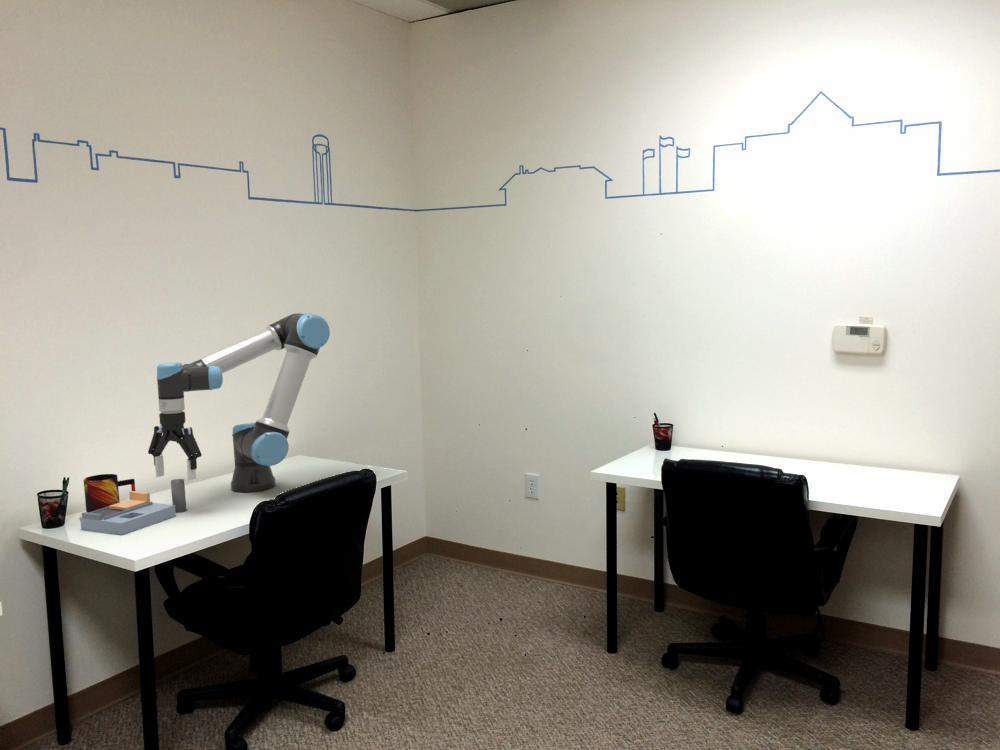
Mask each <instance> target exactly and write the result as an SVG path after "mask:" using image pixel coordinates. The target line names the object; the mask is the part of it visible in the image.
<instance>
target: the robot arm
mask: <svg viewBox="0 0 1000 750" xmlns="http://www.w3.org/2000/svg"><path fill="white" fill-rule="evenodd" d="M330 330H331V329H330V326H329V324H328V322H327V321H326V319H325V318H324V317H322V316H321V315H318V314H316V313H315V314H314V313H312V312H311V313H310V312H307V313H300V312H299V313H292V314H290V315H287V316H285V317H283V318H280V319H279V320H276V321H275V322H273V323H271V324H269V325H266V327H265V329H264V330H262V331H260V332H258V333H255V334H253V335H251V336H249V337H247V338H244V339H242V340H240V341H237V342H235V343H233V344H231V345H228V346H227V347H224V348H222V349H220V350H218V351H215V352H213V353H211V354H209V355H206V356H204V357H202V358H199V359H197V360H194V361H193V362H190V363H184V364H183V363H182V362H175V361H174V362H173V361H172V362H162V363H159V364H157V366H156V381H157V393H158V394H157V395H158V397H157V399H158V411H159V412H160V413H159V415H158V416H159V417H158V418H159V425H155V426H154V427H153V435H152V438H151V441H150V445H149V448H148V450H147V454H149V455H152V457H153V465H154V468H155V478H159V477H163V476H165V465H164V464H165V463H164V455H163V452H164V450H165V448H166V446H167V445H168V444H169V442H171V441H172V442H175V443H177V444H178V445H179V446H180V448H181V449H182V451H183V452H184V453H185V455H186V457H187V459H186V469H187V471H186V473H187V481H189V482H190V481H193V480H197V467H198V465H197V464H198V463H197V459H198V458H200V457H201V458H202V455H203V454H202V452H201V450H200V448H199V445H198V442H197V440H196V438H195V436H194V431H193V427H185V425H184V424H185V423H186V412H185V410H186V407H185V405H186V404H185V393H186V392H198V391H200V392H201V391H212V390H219V389H220V388H221V387H222V386H223V382H224V381H223V380H224V379H223V374H225V373H226V372H228V371H230V370H234V369H235V368H237V367H239V366H241V365H245V364H246V363H248V362H250V361H252V360H255V359H256V358H258V357H261V356H264V355H266V354H268V353H270V352H272V351H274V350H276V351H277V352H278V351H281V350H283V349H285V350H286V352H285V355H284V358H283V360H282V363H281V366H280V369H279V372H278V374H277V377H276V380H275V383H274V386H273V387H272V390H271V393H270V397H269V398H268V401H267V404H266V407H265V410H264V412H263V416H262V417H261V418H258V419H257V420H256V421H255V422H249V423H242V424H241V423H240V424H235V425H234V426H233V427H232V434H231V437H232V443H233V444H232V446H233V447H232V448H233V460H234V469H233V473H232V474H233V475H232V479H231V481H230V490H231V491H233V492H236V493H255V492H263V491H266V490H269V489H272V488H274V487H275V486H276V478H275V476H274V475H273V470H272V468H271V466H272V467H273V466H276V465H277V464H280V463H281V462H282V461H284V459H286V457H287V455H288V453H289V446H290V445H289V441H288V437H289V435H290V429H289V426H288V425H289V421H290V419H291V415H292V413H293V410H294V406H295V405H296V402H297V400H298V397H299V393H300V391H301V387H302V385H303V383H304V380H305V377H306V374H307V372H308V369H309V366H310V364H311V361H312V360H313V359H315V358H317V356H318V354H319V352H320V348H322V347H324V346H325V345H326V344H327V343H328V341H329V338H330V334H331V331H330Z"/></svg>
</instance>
